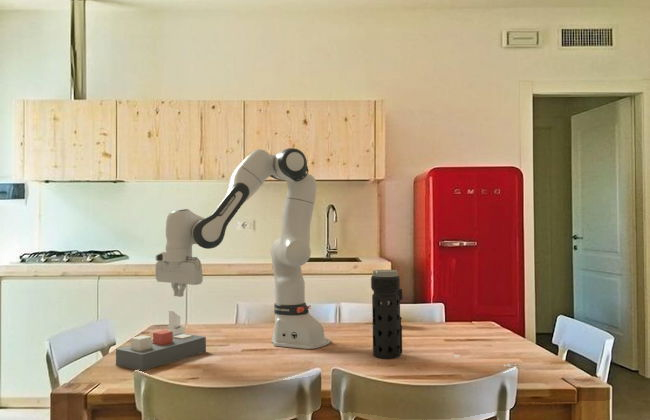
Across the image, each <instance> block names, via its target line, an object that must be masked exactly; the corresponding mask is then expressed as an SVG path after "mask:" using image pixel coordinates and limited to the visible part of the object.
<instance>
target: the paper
mask: <svg viewBox="0 0 650 420" xmlns="http://www.w3.org/2000/svg"><path fill="white" fill-rule="evenodd" d="M460 356H461V354H453V357H454V358H459V357H460ZM513 366H516V367H518V368H517V369H521V367H520V366H518V364H517V363H516V364H515V363H514V364H513V363H507V364H503V367H504V368H510V367H513Z"/></svg>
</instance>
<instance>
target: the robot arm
mask: <svg viewBox="0 0 650 420" xmlns="http://www.w3.org/2000/svg"><path fill="white" fill-rule="evenodd" d="M307 161H308V160H307V158H306V155H305V154H304V152H303V151H302V150H300V149H298V148H294V147H291V148H290V147H289V148H286V149H283V150H280V151H278V152H276V153H275V154H270V153H269V152H268V151H266V150H264V149H259V148H258V149H254V150H253V151H252V152H250V153H249V154H248V155H247V156H246V157H245V158H244V159H243V160H242V161H241V162H240V163H239V164H238V166H237V167H236V168H235V169H234V171H232V174H231V175H230V178H229V179H228V181H227V190H226V191H227V192H226V194H225V196H224V198H223V200H222V201H221V202H220V203H219V204H218V205H217V207H216V208H215V209H214V210H213V212H212V213H211V214H210V215H209V216H207V217H206V218H205V217H203V216H201V215H198V214H196V213H195V212H193V211H191V210H190V209H187V208H185V209H177V210H174V211H173V210H172V211H171V212H170V213H168V215H167V216H166V222H165V237H166V244H165V251H162V252H160V253H158V254H156V255H155V261H156V263H155V269H154V270H155V279H156V281H157V282H159V283H169V284H171V288H172V291H173V296H174V297H177V298H178V297H179V298H181V297H184V295H185V294H184V291H185V290H186V287H187V285H189V286H190V285H192V286H197V285H201V284H202V283H203V276H204V275H203V268H202V265H201V263H202V262H201V260H200V259H199V258H198V257H197V256H193V245H197V246H199V247H200V248H203V249H208V250H209V249H210V250H211V249H214V248H217V247H218V246H219V245H221V243H222V242H223V240H224V237H225V235H226V234H225V233H226V230H227V227H228V225H229V223H230V222H231V221H232V220H233V218H234V216H235V215H236V214H237V213H238V211H239V210H240V209H241V207H242V206H243V205H244V204H245V203H246V202H247V201H248V200H250V198H252V196H254V195H255V193H257V192H258V190H259V189H260V188H261V187H262V185H264V183H265V182H266V181H267V179H268V178H269V177H271V178H272V179H275V180H278V181H285V182H286V185H287V191H286V192H287V193H286V197H285V199H284V204H283V205H284V206H283V211H282V214H281V225H282V226H281V228H282V229H281V236H280V237H278V238H276V239H275V240H274V241H273V242H272V243H271V245H270V256H271V262H272V263H271V264H272V270H273V277H274V284H275V285H274V286H275V287H274V292H275V293H274V294H275V296H274V298H275V299H274V301H275V302H274V305H273V310H274V311H273V313H274V326H273V333H272V338H271V340H270V341H271V343H273V344H272V345H273V346H275V347H284V348H295V349H306V350H313V349H318V348H319V349H320V348H322V347H325V346H326V345H327V346H328V345H329V344H330V343H331V342H332V341H331V338H329V337H326V336H325V329H324V326H323V324H321V322H319V320H317V319H316V318H315V317H314V316H313V315H311V314H310V312H309V310H310V309H311V305H308V304H307V303H306V302H305V301H306V298H305V296H306V295H305V293H306V292H305V284H306V283H305V279H304V276H303V271H302V266H303V265H305V264H306V263H307V262H308V261H309V260H310V259H311V255H312V254H311V247H310V241H311V240H310V239H311V222H312V217H313V212H314V206H315V202H316V194H317V179H316V177H315V176H314V175H312V174H311V173H309V167H308V162H307Z"/></svg>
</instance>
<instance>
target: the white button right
mask: <svg viewBox="0 0 650 420" xmlns="http://www.w3.org/2000/svg"><path fill="white" fill-rule="evenodd" d="M186 334H187V333H185V334H182V335H178V336H174V337H173V338H174V339H180V340H184V339H188V338H191V337H192V335H193V334H190V335H186Z"/></svg>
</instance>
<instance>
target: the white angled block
mask: <svg viewBox="0 0 650 420" xmlns="http://www.w3.org/2000/svg"><path fill="white" fill-rule="evenodd" d="M185 328H186V326H185V325H181V316H180V315H178V314H177V313H176V312H175V311H174V310H171V311H168V331H172V332H173V335H174V334H178V333H184V334H186V332H185Z"/></svg>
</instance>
